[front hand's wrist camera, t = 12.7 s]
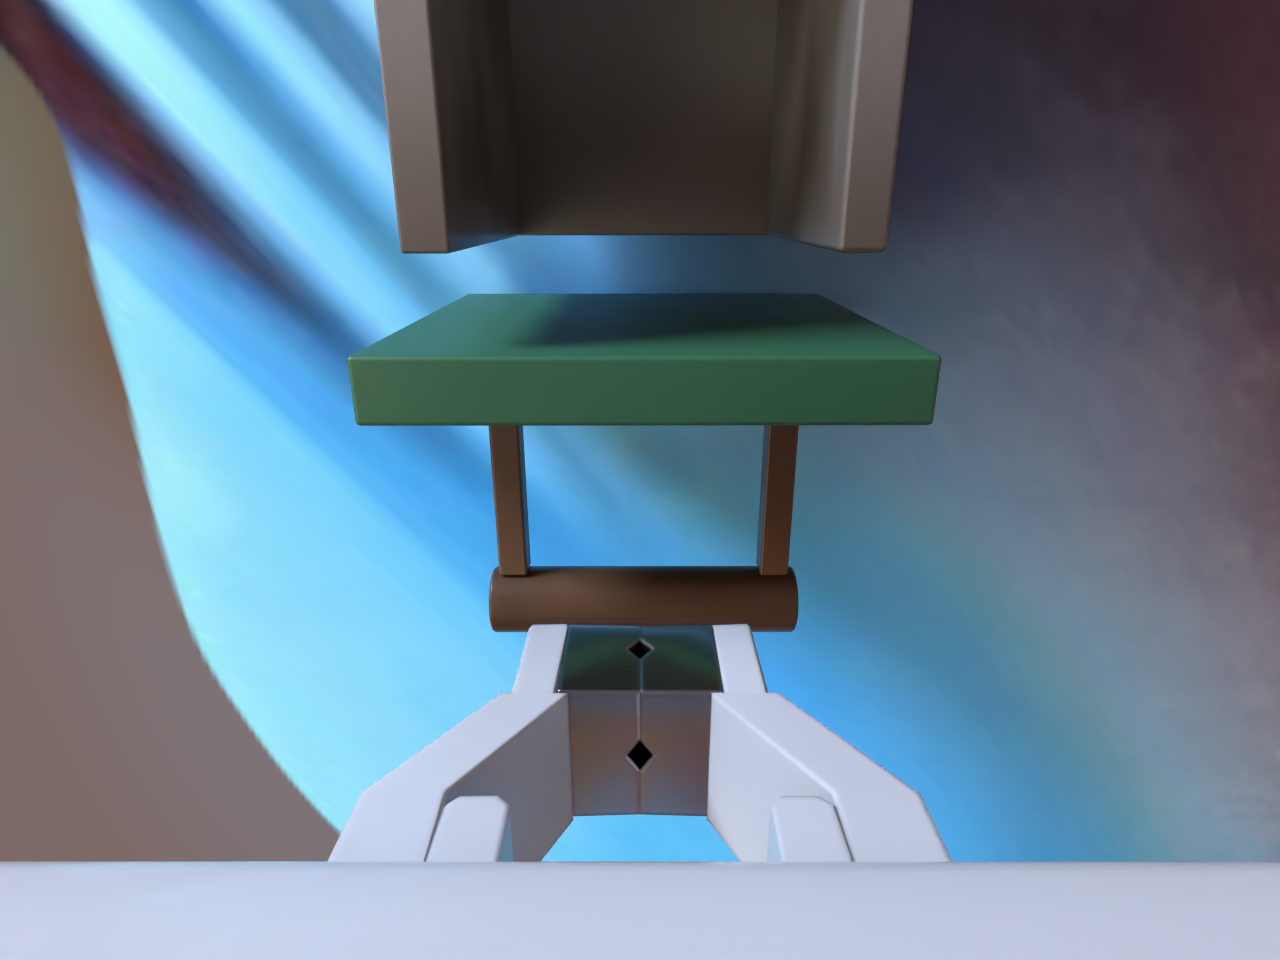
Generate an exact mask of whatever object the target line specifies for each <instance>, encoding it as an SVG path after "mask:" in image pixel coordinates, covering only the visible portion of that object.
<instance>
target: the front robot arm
mask: <svg viewBox="0 0 1280 960" xmlns="http://www.w3.org/2000/svg"><path fill="white" fill-rule="evenodd" d="M630 814H648V815H684V816H707V820H708V821H709V822H710V824H711V825H712V826H713V828H714V829H715V830H716V831H717V833H718V834H719V835H720V836H721V838H722V839H723V840H724V842H725V843H726V844H727V845H728V847H729V848H730V849H731V850H732V852H733V853H734V854H735V856H736V857H737V858H738V859H739V861H740V862H540V861H541V860H542V859H543V857H544V856H545V855H546V854H547V852H548V851H549V850H550V849H551V847H552V846H553V845H554V844H555V842H556V841H557V840H558V838H559V837H560V836H561V835H562V833H563V832H564V831H565V830H566V828H567V827H568V826H569V824H570V823H571V822H572V821H573V816H595V815H630ZM0 960H1280V862H952V860H951V858H950V856H949V854H948V851H947V849H946V847H945V845H944V843H943V841H942V839H941V837H940V835H939V833H938V830H937V828H936V826H935V824H934V822H933V820H932V818H931V816H930V814H929V811H928V809H927V807H926V805H925V803H924V801H923V799H922V797H921V795H920V794H919V793H918V792H917V791H915V790H914V789H912V788H911V787H910V786H908V785H907V784H905V783H904V782H903V781H901V780H900V779H898V778H897V777H896V776H894V775H893V774H891V773H890V772H889V771H887V770H886V769H884V768H883V767H882V766H880V765H879V764H877V763H876V762H875V761H873V760H872V759H870V758H869V757H868V756H866V755H865V754H863V753H862V752H861V751H859V750H858V749H856V748H855V747H854V746H852V745H851V744H849V743H848V742H847V741H845V740H844V739H842V738H841V737H840V736H838V735H837V734H835V733H834V732H833V731H831V730H830V729H828V728H827V727H826V726H824V725H823V724H821V723H820V722H819V721H817V720H816V719H814V718H813V717H812V716H810V715H809V714H807V713H806V712H805V711H803V710H802V709H800V708H799V707H798V706H796V705H795V704H793V703H792V702H791V701H789V700H788V699H786V698H785V697H783V696H782V695H781V694H779V693H768V690H767V687H766V683H765V679H764V676H763V672H762V668H761V664H760V661H759V657H758V653H757V650H756V646H755V642H754V638H753V635H752V631H751V627H750V626H749V625H748V624H728V625H689V626H649V627H640V626H617V625H569V626H568V625H567V624H537V625H532V626H531V627H530V628H529V630H528V634H527V638H526V641H525V645H524V649H523V653H522V656H521V660H520V664H519V668H518V672H517V675H516V679H515V683H514V687H513V690H512V693H501V694H499V695H498V696H497V697H495V698H494V699H492V700H491V701H490V702H488V703H487V704H485V705H484V706H482V707H481V708H480V709H478V710H477V711H475V712H474V713H473V714H471V715H470V716H468V717H467V718H466V719H464V720H463V721H461V722H460V723H459V724H457V725H456V726H454V727H453V728H451V729H450V730H449V731H447V732H446V733H444V734H443V735H442V736H440V737H439V738H437V739H436V740H435V741H433V742H432V743H430V744H429V745H428V746H426V747H425V748H423V749H422V750H420V751H419V752H418V753H416V754H415V755H413V756H412V757H411V758H409V759H408V760H406V761H405V762H404V763H402V764H401V765H399V766H398V767H397V768H395V769H394V770H392V771H391V772H390V773H388V774H387V775H385V776H384V777H382V778H381V779H380V780H378V781H377V782H375V783H374V784H373V785H371V786H370V787H368V788H367V789H366V790H364V791H363V792H361V794H360V796H359V798H358V800H357V802H356V804H355V806H354V808H353V810H352V812H351V814H350V816H349V818H348V820H347V823H346V825H345V827H344V829H343V831H342V833H341V835H340V837H339V839H338V841H337V843H336V845H335V847H334V849H333V852H332V854H331V856H330V858H329V860H328V862H0Z"/></svg>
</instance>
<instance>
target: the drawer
mask: <svg viewBox="0 0 1280 960" xmlns="http://www.w3.org/2000/svg"><path fill="white" fill-rule="evenodd" d="M913 3H914V0H374V7H375V16H376V25H377V34H378V44H379V53H380V62H381V72H382V81H383V90H384V99H385V109H386V118H387V127H388V137H389V146H390V155H391V165H392V174H393V183H394V192H395V202H396V211H397V220H398V230H399V239H400V248H401V252H402V253H451V252H455V251H459V250H463V249H467V248H471V247H475V246H479V245H483V244H487V243H491V242H495V241H499V240H502V239H506V238H510V237H514V236H518V235H771V236H775V237H779V238H783V239H787V240H792V241H796V242H800V243H804V244H808V245H813V246H817V247H821V248H825V249H829V250H834V251H838V252H842V253H881V252H883V251H885V250H886V248H887V243H888V234H889V225H890V215H891V206H892V197H893V188H894V178H895V169H896V160H897V151H898V142H899V132H900V123H901V114H902V105H903V95H904V86H905V77H906V68H907V58H908V49H909V40H910V31H911V22H912V12H913ZM347 362H348V369H349V376H350V383H351V391H352V398H353V405H354V412H355V419H356V423H357V424H358V425H361V426H469V425H489V436H490V450H491V463H492V477H493V490H494V504H495V517H496V531H497V544H498V557H499V566H498V567H496V568H495V569H494V571H493V574H492V577H491V582H490V590H489V616H490V622H491V626H492V629H493V630H494V631H495V632H528V630H529V628H530V627H531V626H532V625H537V624H567V625H568V626H569V625H617V626H640V627H649V626H689V625H728V624H748V625H749V626H750V627H751V631H752V632H791V631H793V630H794V629H795V627H796V623H797V618H798V588H797V581H796V576H795V573H794V571H793V569H792V567H790V566H788V561H789V547H790V534H791V521H792V507H793V494H794V481H795V467H796V454H797V441H798V427H799V425H929V424H931V423H932V421H933V415H934V408H935V401H936V393H937V386H938V379H939V372H940V365H941V358H940V356H939V355H937V354H935V353H933V352H931V351H929V350H927V349H925V348H923V347H921V346H919V345H917V344H915V343H913V342H911V341H909V340H907V339H905V338H903V337H901V336H899V335H897V334H895V333H893V332H891V331H890V330H888V329H886V328H884V327H882V326H880V325H878V324H876V323H874V322H872V321H870V320H868V319H866V318H864V317H862V316H860V315H858V314H856V313H854V312H852V311H850V310H848V309H846V308H844V307H842V306H840V305H838V304H836V303H834V302H832V301H830V300H828V299H826V298H824V297H822V296H820V295H818V294H468V295H466V296H464V297H462V298H460V299H458V300H457V301H455V302H453V303H451V304H449V305H447V306H445V307H443V308H441V309H439V310H437V311H435V312H433V313H432V314H430V315H428V316H426V317H424V318H422V319H420V320H418V321H416V322H414V323H412V324H410V325H409V326H407V327H405V328H403V329H401V330H399V331H397V332H395V333H393V334H391V335H389V336H387V337H385V338H384V339H382V340H380V341H378V342H376V343H374V344H372V345H370V346H368V347H366V348H364V349H362V350H361V351H359V352H357V353H355V354H353V355H351V356H349V357H348V360H347ZM523 425H764V440H763V457H762V474H761V491H760V508H759V525H758V542H757V559H756V563H757V566H530V563H531V561H530V543H529V526H528V509H527V492H526V474H525V457H524V440H523Z"/></svg>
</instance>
